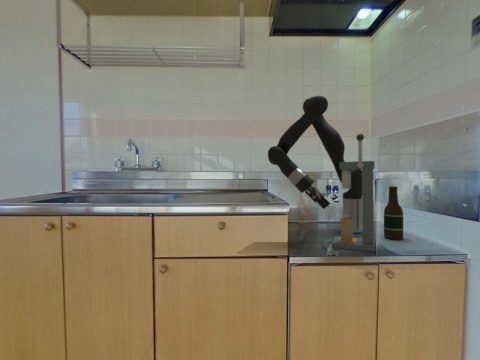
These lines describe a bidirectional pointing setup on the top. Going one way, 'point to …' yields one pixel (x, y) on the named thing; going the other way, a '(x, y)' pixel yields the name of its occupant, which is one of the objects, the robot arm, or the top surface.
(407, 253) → the top surface
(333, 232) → the top surface
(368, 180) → the press
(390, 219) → the beer bottle
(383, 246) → the top surface
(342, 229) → the block
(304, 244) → the top surface
